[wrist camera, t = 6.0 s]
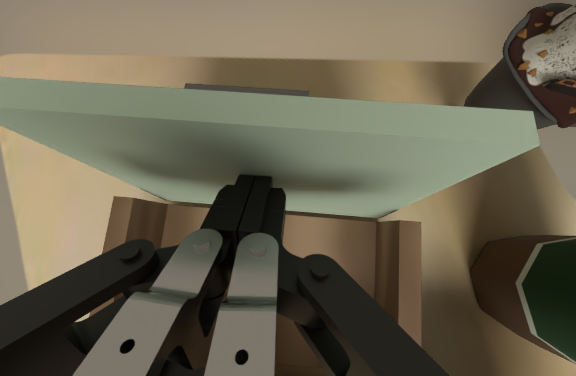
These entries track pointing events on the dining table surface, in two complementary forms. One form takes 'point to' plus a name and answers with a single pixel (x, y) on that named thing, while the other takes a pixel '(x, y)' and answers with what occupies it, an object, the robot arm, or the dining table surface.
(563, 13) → the sundae
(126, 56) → the dining table surface
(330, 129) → the pale green panel
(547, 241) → the beer bottle
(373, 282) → the wooden box
